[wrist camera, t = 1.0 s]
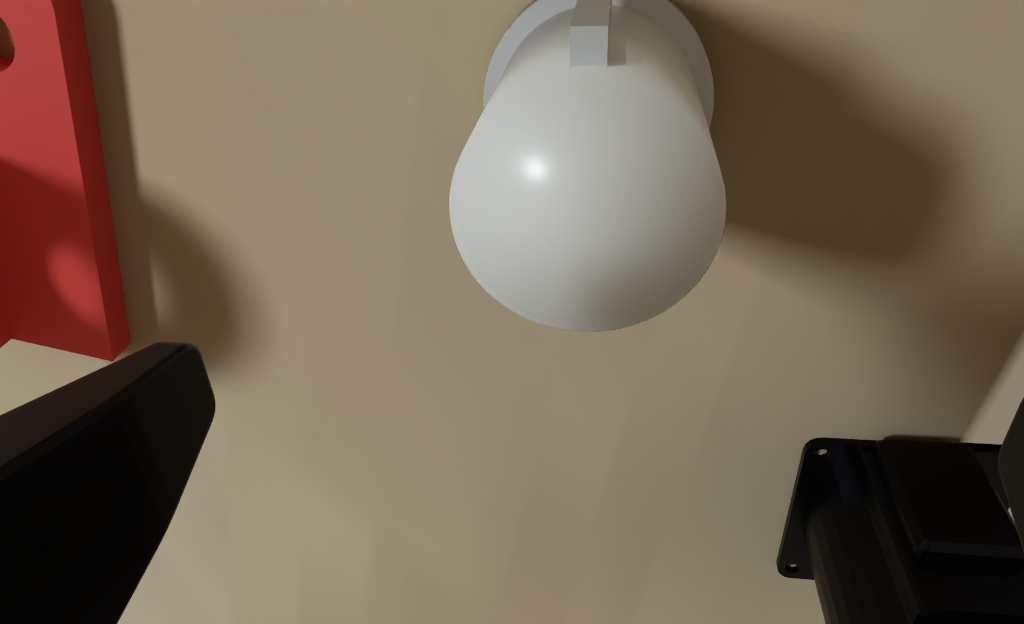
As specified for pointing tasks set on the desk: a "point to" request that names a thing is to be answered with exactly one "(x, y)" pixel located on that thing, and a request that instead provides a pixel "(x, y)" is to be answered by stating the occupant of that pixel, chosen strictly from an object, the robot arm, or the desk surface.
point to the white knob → (592, 166)
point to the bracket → (55, 190)
